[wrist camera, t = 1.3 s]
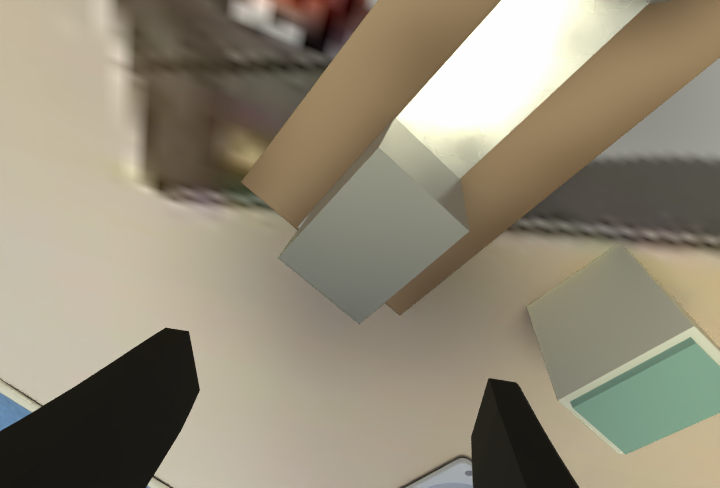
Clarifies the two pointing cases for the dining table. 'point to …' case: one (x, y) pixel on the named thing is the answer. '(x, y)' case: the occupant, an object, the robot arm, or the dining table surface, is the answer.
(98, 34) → the dining table surface
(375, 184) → the block
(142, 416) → the robot arm
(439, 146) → the rail
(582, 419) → the block
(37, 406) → the tablet computer
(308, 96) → the board
